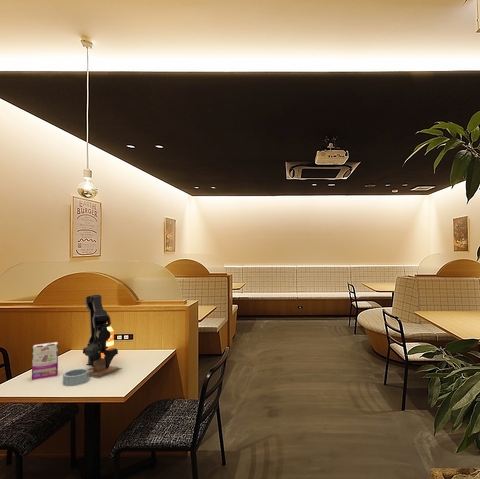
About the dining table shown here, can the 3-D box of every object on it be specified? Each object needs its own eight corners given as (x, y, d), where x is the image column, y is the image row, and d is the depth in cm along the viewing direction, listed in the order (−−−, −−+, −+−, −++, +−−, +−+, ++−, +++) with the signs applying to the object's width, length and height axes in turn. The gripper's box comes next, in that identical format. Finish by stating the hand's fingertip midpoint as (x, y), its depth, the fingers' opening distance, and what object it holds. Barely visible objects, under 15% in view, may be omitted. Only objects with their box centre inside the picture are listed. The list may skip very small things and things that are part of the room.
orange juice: (103, 357, 195) (104, 324, 196) (93, 356, 199) (93, 323, 200) (113, 354, 202) (114, 321, 203) (103, 352, 206) (104, 320, 207)
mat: (75, 375, 165) (75, 374, 165) (99, 365, 180) (99, 365, 180) (99, 379, 159) (100, 378, 159) (122, 369, 174) (122, 368, 174)
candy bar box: (57, 373, 168) (58, 341, 169) (57, 376, 163) (58, 343, 164) (32, 377, 163) (33, 344, 164) (31, 380, 158) (32, 346, 159)
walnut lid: (80, 374, 166) (80, 362, 166) (99, 366, 178) (100, 355, 178) (100, 377, 161) (100, 365, 161) (118, 368, 173) (118, 357, 173)
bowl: (57, 384, 152) (57, 375, 152) (76, 377, 162) (77, 367, 163) (74, 387, 148) (75, 377, 148) (93, 379, 158) (93, 370, 159)
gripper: (74, 339, 166) (73, 370, 165) (102, 342, 160) (102, 375, 159) (91, 334, 177) (91, 364, 176) (118, 337, 170) (118, 367, 169)
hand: (100, 367), depth 169 cm, fingers open, 9 cm apart
